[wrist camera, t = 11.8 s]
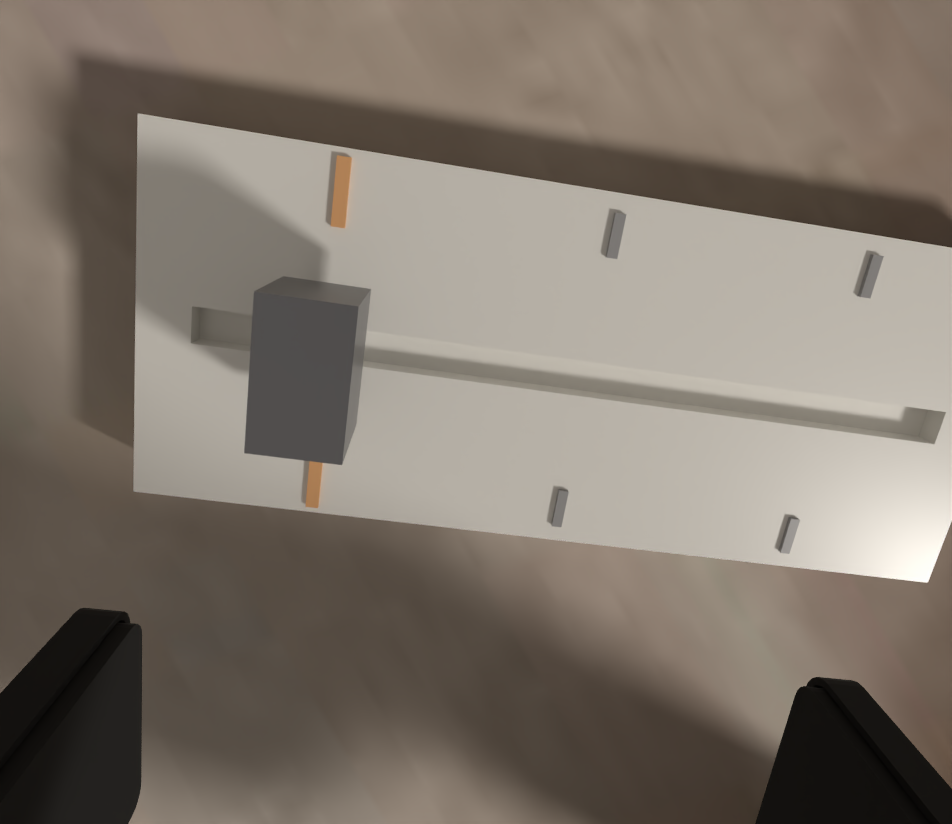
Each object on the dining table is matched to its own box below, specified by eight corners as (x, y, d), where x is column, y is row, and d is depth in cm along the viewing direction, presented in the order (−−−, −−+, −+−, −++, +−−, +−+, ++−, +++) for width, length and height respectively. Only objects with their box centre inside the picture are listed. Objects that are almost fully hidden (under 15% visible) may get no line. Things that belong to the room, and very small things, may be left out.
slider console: (885, 549, 34) (930, 584, 30) (162, 463, 30) (131, 493, 27) (991, 257, 30) (1055, 264, 26) (170, 122, 26) (134, 112, 23)
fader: (362, 405, 28) (341, 465, 22) (287, 396, 27) (244, 453, 21) (377, 280, 26) (358, 306, 20) (296, 269, 26) (253, 291, 20)
